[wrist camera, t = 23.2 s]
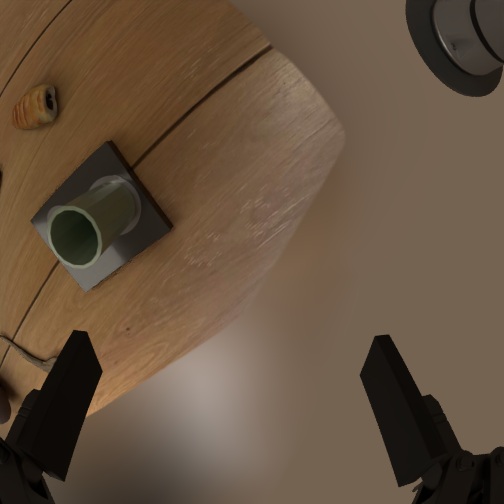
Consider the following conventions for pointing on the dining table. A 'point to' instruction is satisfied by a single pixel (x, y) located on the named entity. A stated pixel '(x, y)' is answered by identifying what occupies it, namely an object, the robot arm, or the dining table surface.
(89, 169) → the hob
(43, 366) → the jawbone
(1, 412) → the smooth stone
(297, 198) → the dining table surface
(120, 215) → the cup
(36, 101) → the pastry
